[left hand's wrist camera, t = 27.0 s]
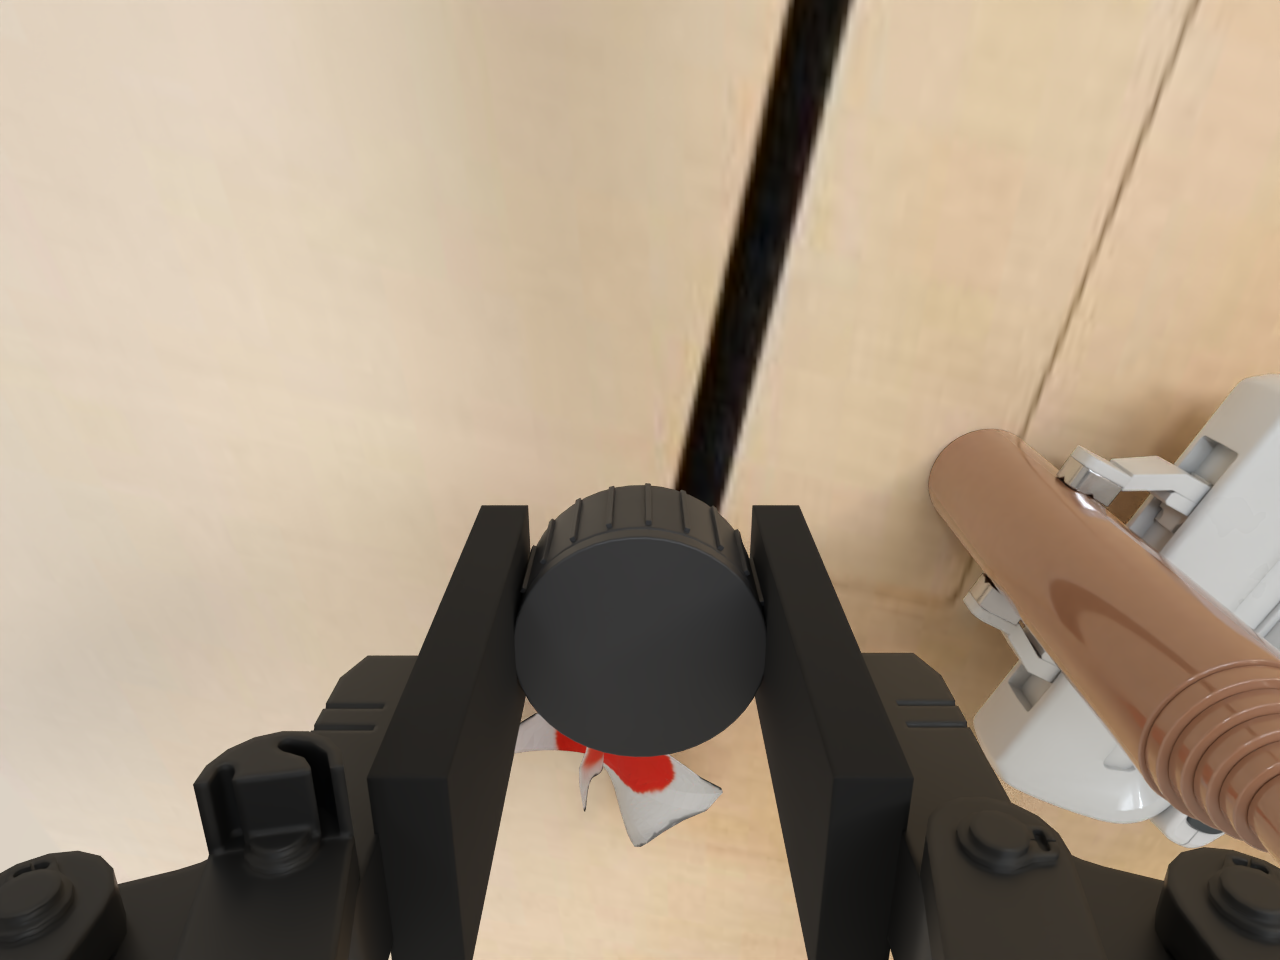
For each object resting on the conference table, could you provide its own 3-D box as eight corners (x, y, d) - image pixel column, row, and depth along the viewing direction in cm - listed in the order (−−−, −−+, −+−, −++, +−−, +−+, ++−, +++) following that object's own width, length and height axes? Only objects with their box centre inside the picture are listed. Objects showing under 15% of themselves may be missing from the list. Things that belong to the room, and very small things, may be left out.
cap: (670, 435, 14) (675, 482, 12) (799, 612, 15) (822, 680, 13) (477, 562, 15) (454, 624, 13) (614, 721, 16) (610, 800, 14)
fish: (824, 629, 40) (743, 813, 33) (717, 772, 51) (640, 931, 45) (621, 512, 42) (504, 665, 35) (560, 675, 53) (463, 815, 46)
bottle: (1033, 418, 42) (1514, 775, 19) (1039, 516, 43) (1484, 950, 21) (922, 441, 42) (1260, 818, 19) (933, 537, 44) (1254, 985, 21)
